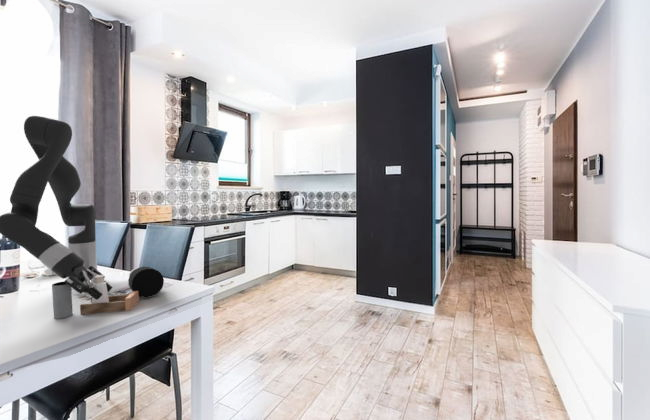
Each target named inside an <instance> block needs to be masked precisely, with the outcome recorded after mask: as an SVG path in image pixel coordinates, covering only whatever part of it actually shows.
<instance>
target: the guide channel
mask: <svg viewBox="0 0 650 420" xmlns="http://www.w3.org/2000/svg"><path fill="white" fill-rule="evenodd" d="M139 297H140V296H139V295H138V291H132V292H130V293H129V294H117V295H116V294H114V295H108V298H109V302H104V303H92V296H90V303H81V304H80V305H79V309H80V313H79V314H80V315H89V314H103V313H114V312H126V311H132V310H133V309H134V308H135V307H136V306H137V305H138V303H139V301H140V300H139V299H140V298H139Z"/></svg>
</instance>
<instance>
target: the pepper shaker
mask: <svg viewBox="0 0 650 420" xmlns="http://www.w3.org/2000/svg"><path fill="white" fill-rule="evenodd" d="M104 276H105V275H104V274H103V275H97V276H95V277H94V281H95V282H94V284H93V283H92V287H94V288H95V289H97V290H98V291H99V292H101V293H102V296H101V297H100V298H99V299H97V300H96V299H94V298H93V297H92V296H91V297H92V303H104V302H109V298H108V296H109V292H107V286H106V281H105V278H104ZM104 281H105V282H104Z"/></svg>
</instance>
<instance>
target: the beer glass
mask: <svg viewBox="0 0 650 420" xmlns="http://www.w3.org/2000/svg"><path fill="white" fill-rule="evenodd" d="M57 241H58V240H57ZM58 242H59V243H61V242H60V241H58ZM43 266H44V272H43V276H45V275H46V277H47V276H48V277H49V276H55V275H57V274H56V273H54V272H53V271H52V270H50V269H49V268H48V267H46V266H45V265H44V264H43Z"/></svg>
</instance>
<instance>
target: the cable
mask: <svg viewBox="0 0 650 420" xmlns="http://www.w3.org/2000/svg"><path fill="white" fill-rule="evenodd" d="M128 274H129V275H128V287H129V288H130V289H131V291H132V292H133V291H138V295H139V297H140V298H145V299H146V298H151V297H154V296H156V295H157V294H158V293H160V292H161V291H162V289H163V287H164V282H165V280H164V276H163V274H162V273H161V272H160V271H159V270H158V269H155V268H152V267H150V266H141V267H136V268H133V269H132V270H130V272H129V273H128Z"/></svg>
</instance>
